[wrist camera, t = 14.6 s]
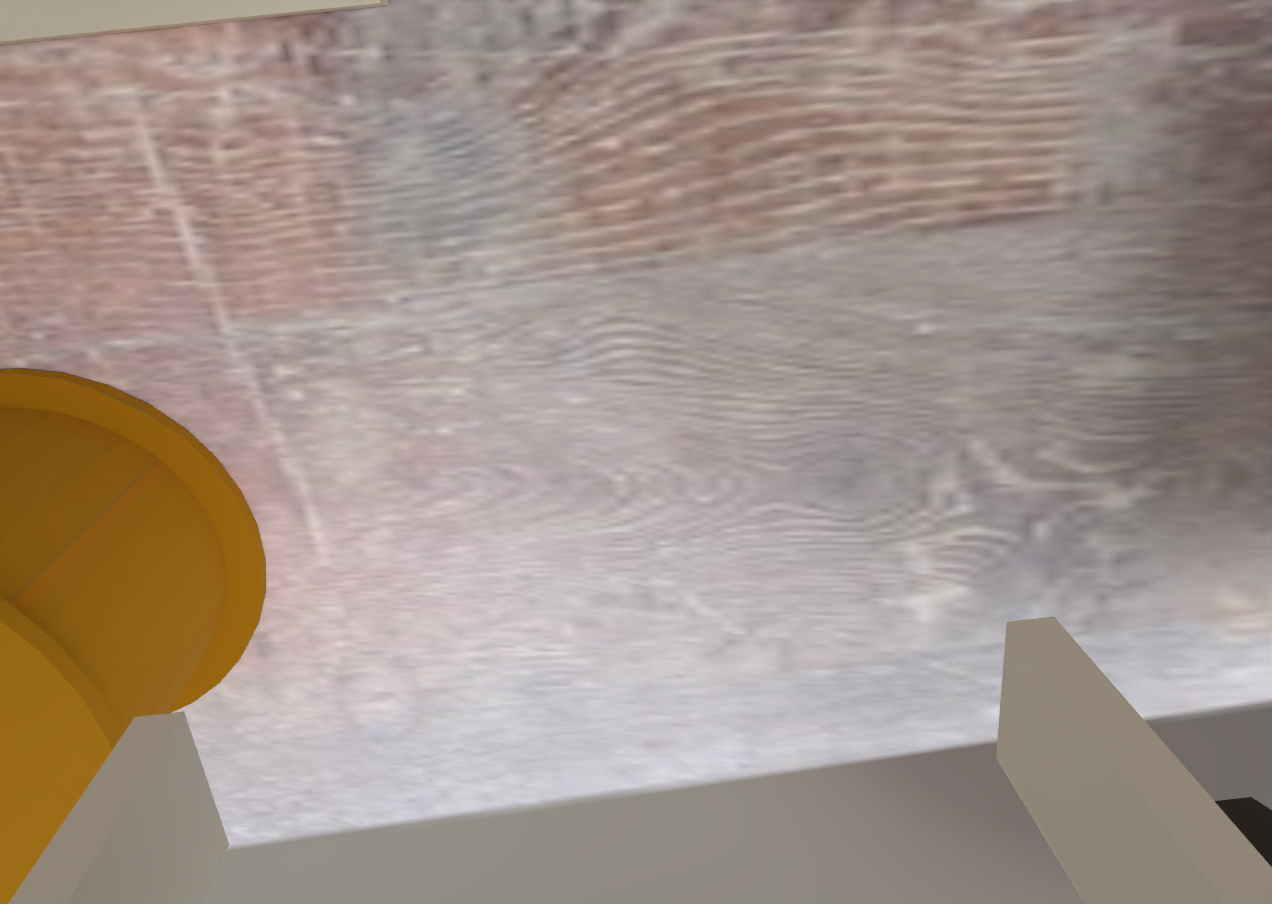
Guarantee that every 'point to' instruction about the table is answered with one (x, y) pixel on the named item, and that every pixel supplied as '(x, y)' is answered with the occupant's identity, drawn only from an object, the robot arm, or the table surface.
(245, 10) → the keeper board
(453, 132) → the table surface
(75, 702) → the spool
